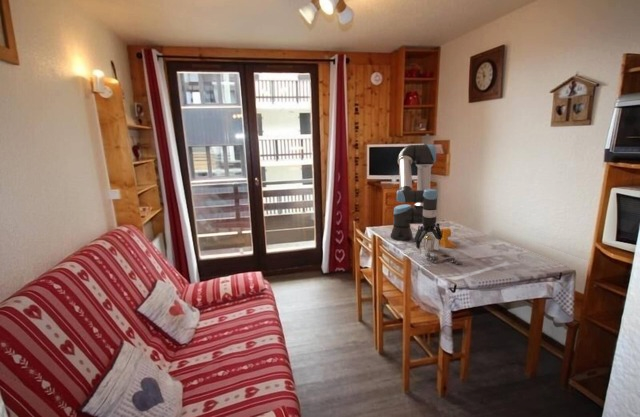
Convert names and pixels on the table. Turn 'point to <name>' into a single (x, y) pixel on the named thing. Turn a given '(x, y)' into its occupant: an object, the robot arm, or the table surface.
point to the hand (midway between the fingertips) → (427, 251)
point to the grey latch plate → (455, 262)
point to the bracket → (446, 238)
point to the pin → (428, 245)
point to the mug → (431, 241)
